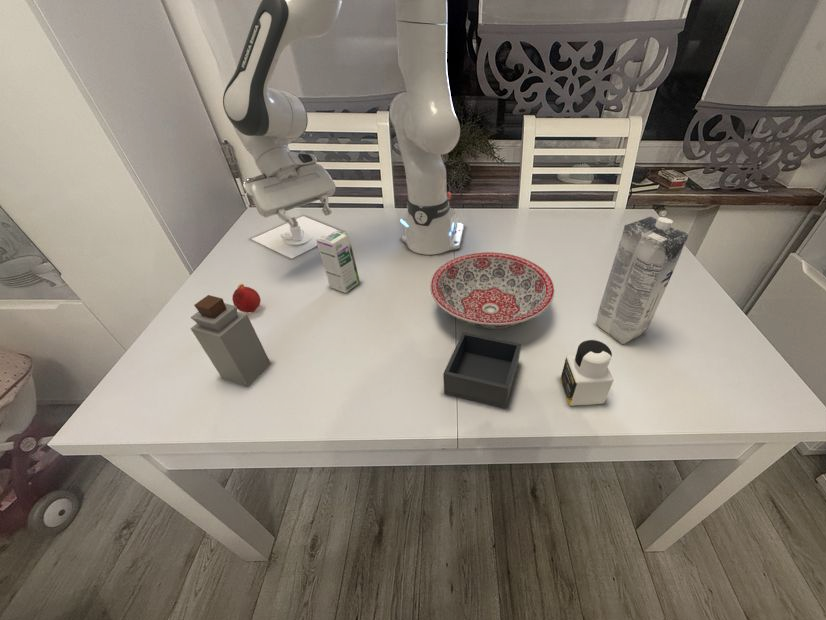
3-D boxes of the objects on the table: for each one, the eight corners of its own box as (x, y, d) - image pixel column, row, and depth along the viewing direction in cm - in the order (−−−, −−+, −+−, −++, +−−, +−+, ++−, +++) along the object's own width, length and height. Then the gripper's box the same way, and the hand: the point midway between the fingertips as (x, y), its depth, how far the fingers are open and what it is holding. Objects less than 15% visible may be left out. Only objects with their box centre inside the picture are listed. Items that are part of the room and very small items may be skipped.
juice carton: (623, 349, 87) (667, 239, 69) (589, 323, 94) (621, 216, 75) (649, 335, 91) (698, 227, 72) (615, 311, 97) (651, 206, 79)
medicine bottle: (559, 379, 81) (570, 336, 73) (593, 377, 81) (608, 334, 73) (569, 406, 76) (582, 363, 67) (604, 404, 76) (622, 361, 68)
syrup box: (346, 293, 102) (333, 243, 92) (329, 287, 104) (314, 237, 94) (360, 283, 105) (349, 233, 95) (343, 277, 107) (331, 227, 97)
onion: (256, 320, 93) (243, 293, 88) (234, 317, 94) (220, 290, 89) (269, 306, 98) (258, 279, 92) (248, 303, 98) (236, 276, 93)
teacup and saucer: (278, 240, 121) (273, 228, 118) (299, 230, 126) (295, 218, 123) (296, 249, 118) (292, 236, 115) (317, 238, 123) (313, 226, 120)
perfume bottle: (270, 363, 83) (237, 295, 71) (248, 386, 79) (208, 317, 66) (245, 356, 85) (208, 287, 72) (221, 377, 80) (177, 308, 68)
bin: (462, 351, 86) (462, 331, 82) (518, 363, 84) (521, 343, 80) (444, 394, 78) (443, 373, 74) (505, 408, 75) (508, 388, 71)
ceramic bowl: (534, 364, 84) (539, 337, 78) (411, 332, 91) (408, 305, 85) (559, 290, 103) (564, 264, 98) (457, 269, 111) (456, 243, 105)
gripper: (239, 173, 88) (274, 228, 90) (319, 152, 99) (349, 202, 101) (238, 188, 93) (271, 239, 95) (314, 166, 104) (343, 213, 106)
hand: (312, 220), depth 98 cm, fingers open, 8 cm apart
